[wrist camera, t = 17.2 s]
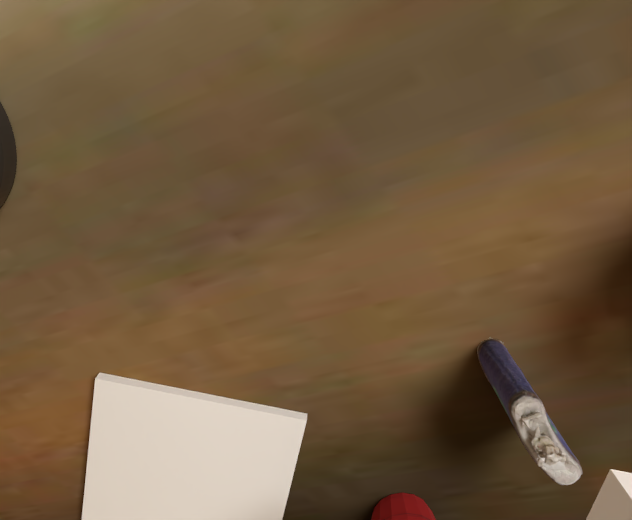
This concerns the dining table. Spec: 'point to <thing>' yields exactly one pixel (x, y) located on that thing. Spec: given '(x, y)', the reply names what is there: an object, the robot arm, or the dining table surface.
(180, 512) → the mat
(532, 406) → the flask
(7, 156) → the robot arm
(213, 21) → the dining table surface
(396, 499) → the plastic cup
